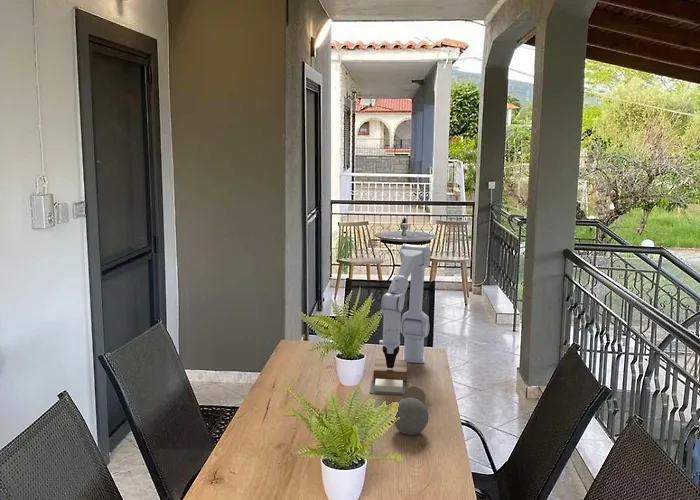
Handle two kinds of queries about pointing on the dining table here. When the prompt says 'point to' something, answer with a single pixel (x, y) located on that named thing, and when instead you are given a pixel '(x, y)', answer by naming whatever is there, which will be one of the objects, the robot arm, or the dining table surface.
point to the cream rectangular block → (389, 385)
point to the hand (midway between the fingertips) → (390, 367)
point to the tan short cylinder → (415, 393)
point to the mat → (372, 391)
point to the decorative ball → (411, 416)
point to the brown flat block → (390, 370)
